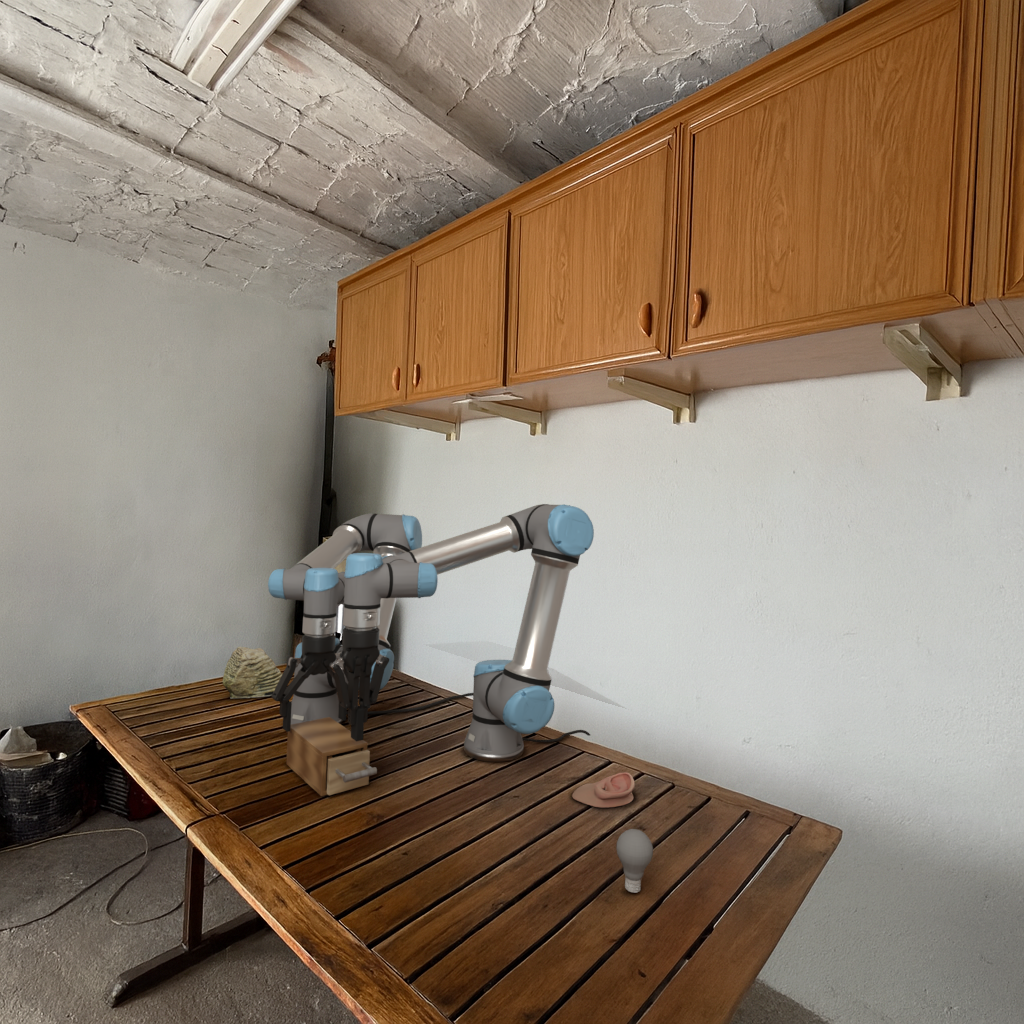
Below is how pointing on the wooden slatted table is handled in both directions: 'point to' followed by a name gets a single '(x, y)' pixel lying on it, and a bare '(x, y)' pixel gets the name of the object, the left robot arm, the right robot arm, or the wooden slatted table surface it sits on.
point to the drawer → (348, 771)
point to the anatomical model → (607, 791)
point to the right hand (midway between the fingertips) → (356, 738)
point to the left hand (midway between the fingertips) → (315, 724)
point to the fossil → (250, 674)
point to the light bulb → (634, 857)
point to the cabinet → (317, 749)
